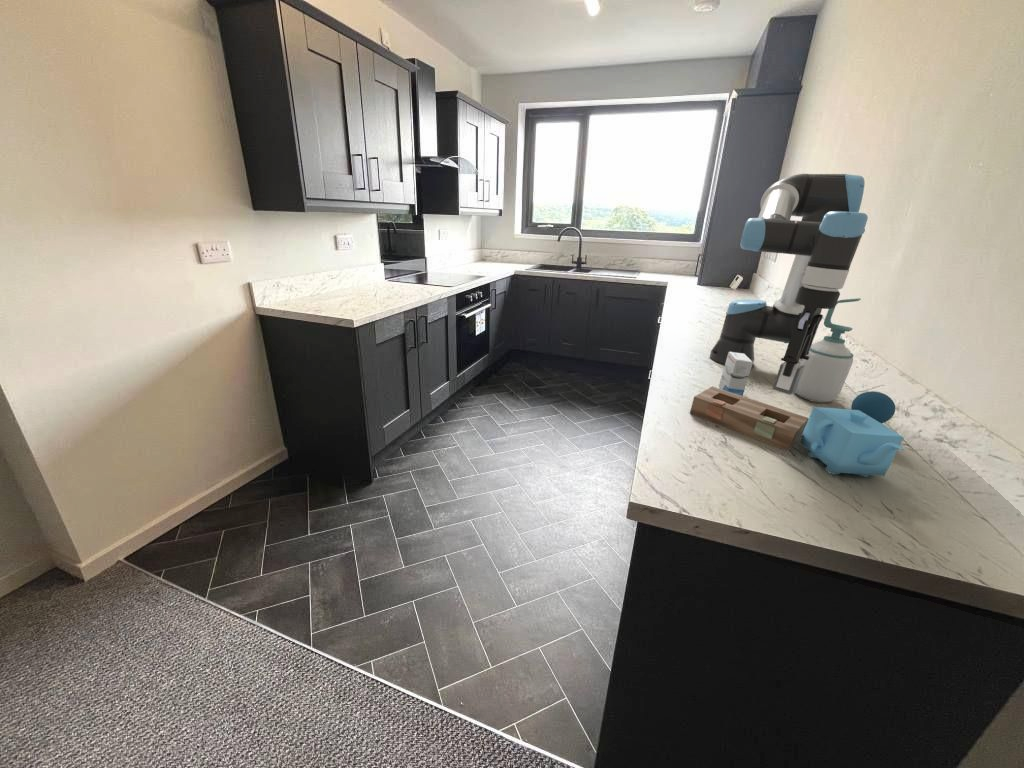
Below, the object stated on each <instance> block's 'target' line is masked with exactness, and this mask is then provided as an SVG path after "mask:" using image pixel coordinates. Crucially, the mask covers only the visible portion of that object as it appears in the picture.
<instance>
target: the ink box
mask: <svg viewBox="0 0 1024 768" xmlns="http://www.w3.org/2000/svg"><path fill="white" fill-rule="evenodd" d="M752 364H753V365H754V363H753V362H752V361H751V360H750V359H749V358H748V357H747V356H746V355H745V354H743V353H736V352H729V353H728V356H727V359H726V363H725V364H724V367H723V371H722V374H721V378H720V381H719V384H718V388H719V389H722V390H725V391H728V392H731V393H734V394H737V395H741V396H744V392H745V390H746V386H747V383H748V379H749V376H750V374H751V370H752V367H753V365H752Z"/></svg>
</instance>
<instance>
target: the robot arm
mask: <svg viewBox="0 0 1024 768" xmlns="http://www.w3.org/2000/svg"><path fill="white" fill-rule="evenodd" d="M865 182H866V181H865V178H864V177H863V176H862V175H857V174H849V173H848V174H847V173H798V174H794V175H789V176H788V177H784V178H783V179H780V180H778V181H776V182H774V183H772V184H771V185H770V186H769V187H768V188H767V189H766V190H765V191H764V192H763V195H762V196H761V199H760V203H759V205H760V207H759V208H760V212H759V214H758V217H750V218H748V219H747V220H746V222H745V225H744V227H743V232H742V233H741V234H742V235H741V239H740V243H739V245H740V248H741V249H742V250H745V251H746V250H747V251H752V252H763V253H770V254H771V253H772V254H783V255H784V254H786V255H794V259H793V261H792V265H791V268H790V271H789V274H788V276H787V280H786V282H785V285H784V288H783V291H782V294H781V297H780V298H778V299H777V300H775V301H774V303H773V305H771V306H769V305H768V304H767V301H765V300H761V299H753V298H752V299H751V298H750V299H743V298H742V299H735V300H732V301H731V302H730V303H729V305H728V307H727V310H726V312H725V314H726V315H725V318H724V321H723V325H722V329H721V332H720V335H719V339H717V341H716V342H715V344H714V346H713V347H712V348H711V350H710V354H709V358H710V359H711V360H712V361H714V362H717V363H719V364H722V365H725V363H726V359H727V356H728V353H729V352H736V353H743V354H745V355H746V356H747V357H748V358H749V359H750V360H751V361H752V362H753V364H752V366H753V365H754V363H755V347H754V344H755V341H756V338H757V339H763V340H769V341H773V342H779V343H784V344H787V348H786V349H785V350H786V351H785V353H784V356H783V357H781V361H782V362H783V363H784V365H783V368H782V371H781V374H780V376H779V379H778V382H777V385H776V387H779V388H782V389H786V390H790V387H791V384H792V382H793V379H794V376H795V373H796V370H797V368H798V365H799V364H798V362H799V359H805V360H808V359H809V357H808V356H806V355H808V354H809V350H810V347H811V345H812V344H813V343H814V339H815V336H816V333H817V332H818V328H819V327H820V323H821V322H822V320H823V318H824V315H823V314H821V313H822V311H823V309H824V310H825V309H826V310H829V309H832V308H834V307H835V308H836V306H837V305H838V304H837V301H839V297H840V295H841V293H840V290H842V289H843V288H844V286H845V283H846V280H847V278H848V275H849V272H850V268H851V265H852V262H853V259H854V257H855V254H856V252H857V249H858V247H859V244H860V241H861V239H862V236H863V234H864V233H865V232H866V231H865V230H866V227H867V226H866V225H867V221H868V219H869V217H868V215H867V214H866V213H865V212H860V210H861V205H862V201H863V196H864V191H865ZM791 217H798V218H799V217H800V218H801V220H792V219H791ZM836 304H837V305H836ZM803 362H804V361H803ZM802 365H803V364H802Z"/></svg>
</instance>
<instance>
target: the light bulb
mask: <svg viewBox="0 0 1024 768" xmlns="http://www.w3.org/2000/svg"><path fill="white" fill-rule="evenodd" d="M850 410H860V411H861V412H863V413H865V414H866V415H868V416H870V417H871V418H873V419H875V420H876V421H878V422H880V423H881V424H885V423H887V422H888V421H890V420H891V419H892V418H893V417H894V415H895V412H896V405H895V402H894V400H893V399H892V398H891V397H890V396H889V395H888V394H885V393H883V392H880V391H873V390H871V391H865V392H862V393H860V394H858V395H857V396H855V398H854V399H853V400H852V403H851V407H850Z"/></svg>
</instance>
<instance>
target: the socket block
mask: <svg viewBox="0 0 1024 768" xmlns="http://www.w3.org/2000/svg"><path fill="white" fill-rule="evenodd" d="M689 414H692V415H694V416H697V417H699V418H701V419H704V420H706V421H710V422H712V423H715V424H717V425H720V426H721V427H725V428H728V429H730V430H733V431H736V432H737V431H738V433H741V434H743V435H745V436H748V437H750V436H751V438H753V439H756V440H759V441H761V442H764V443H767V444H769V445H771V444H772V446H774V447H776V446H777V448H779V449H781V448H782V450H785V451H788V452H789V451H790V450H791V449H792V448H793V446H794V445H795V444H797V442H798V441H800V439H801V437H802V435H803V432H804V430H805V427H806V424H807V422H808V419H809V417H806V416H804V415H801V414H798V413H796V412H795V413H794V412H791V411H788V410H786V409H783V408H779V407H776V406H773V405H771V404H767V403H765V402H762V401H758V400H755V399H752V398H749V397H746V396H744V395H743V396H741V395H737V394H734V393H731V392H728V391H725V390H722V389H721V388H720V387H717V386H710V387H708V388H707V389H705V390H703V391H702V392H700V393H698V394H696V395H694V396H693V400H692V404H691V408H690V412H689ZM791 447H792V448H791Z"/></svg>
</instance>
